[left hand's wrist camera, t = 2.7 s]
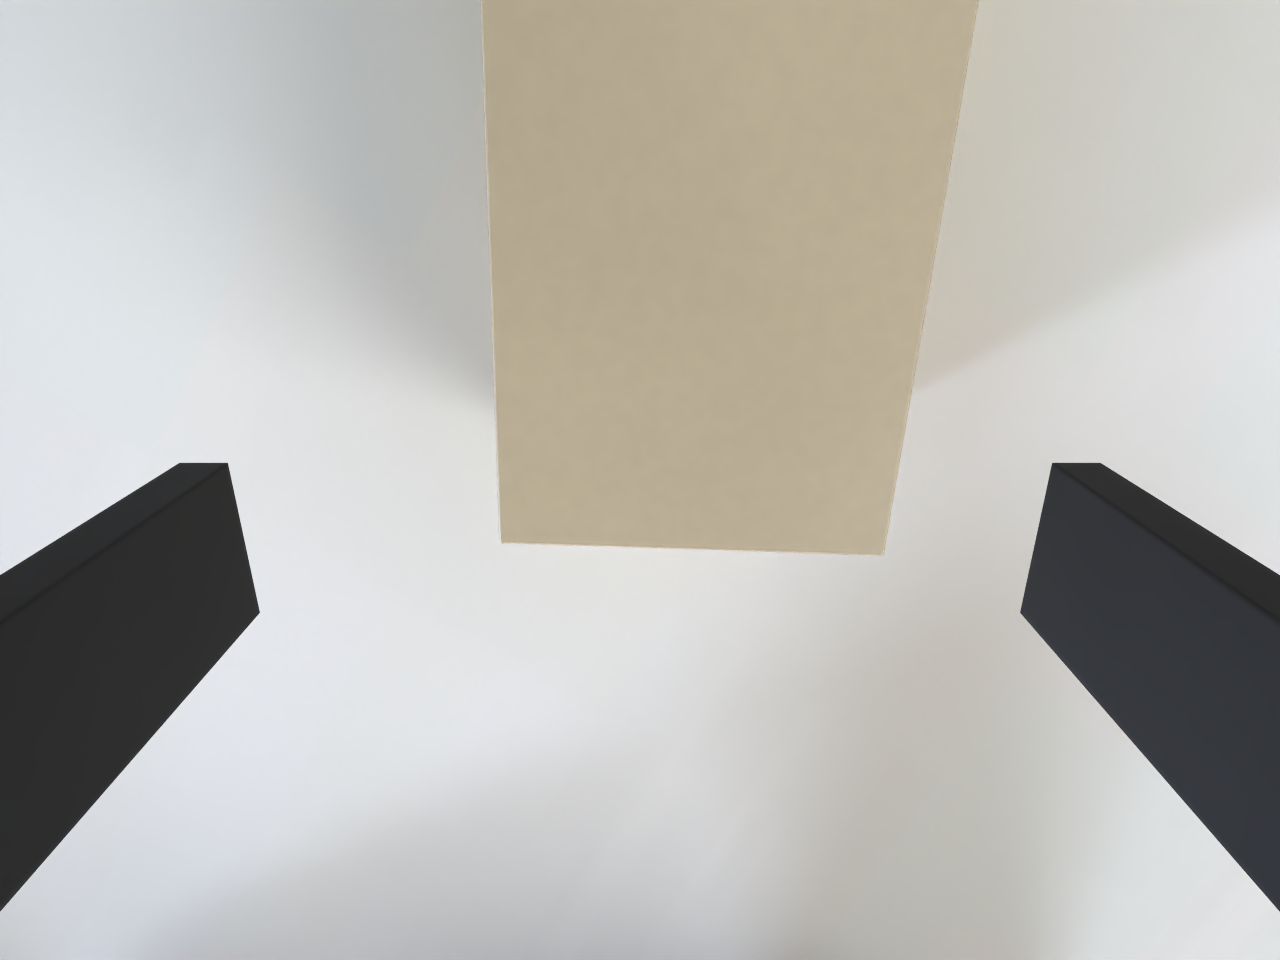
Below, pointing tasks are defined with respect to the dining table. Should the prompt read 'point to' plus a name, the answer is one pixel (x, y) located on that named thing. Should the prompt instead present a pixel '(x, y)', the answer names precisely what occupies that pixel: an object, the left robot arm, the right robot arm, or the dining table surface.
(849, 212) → the cabinet
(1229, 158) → the dining table surface
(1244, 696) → the left robot arm
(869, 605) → the dining table surface
